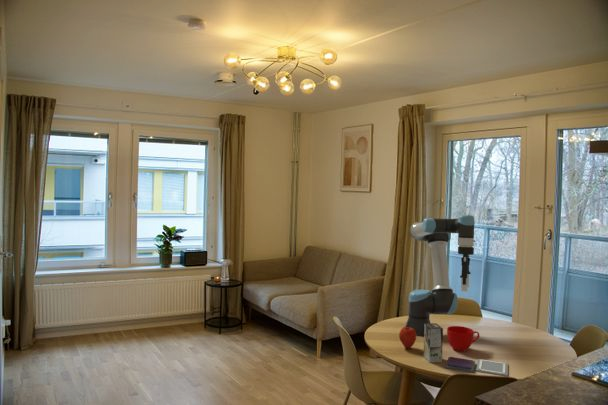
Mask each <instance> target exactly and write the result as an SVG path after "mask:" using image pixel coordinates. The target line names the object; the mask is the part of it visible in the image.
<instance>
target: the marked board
mask: <svg viewBox="0 0 608 405" xmlns="http://www.w3.org/2000/svg"><path fill="white" fill-rule="evenodd" d="M508 366H509V363H506V362H499V361H493V360H489V359H488V360H487V359H482V358H481V359H480V358H477V364H476V369H475V372H479V373H484V374H490V375H497V376H503V377H508V370H509V367H508Z"/></svg>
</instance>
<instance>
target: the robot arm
mask: <svg viewBox="0 0 608 405" xmlns="http://www.w3.org/2000/svg"><path fill="white" fill-rule="evenodd" d="M408 232H409V233H408V234H409V235H410V236H411V238H412V239H414V240H415V241H419V242H427V246H428V247H429V248H430V253H431V265H432V277H433V288H432V289H431V290H428V289H414V290H412V291H411V292H410V293H409V294H408V295H409V296H408V317H407V321H406V323H405V325H404V327H410V328H413V329H414V330H415V332H416V336H424V324H428V323H431V318H430V315H431V314H433V315H437V314H438V315H439V314H440V315H443V314H444V315H451V314H455V312H456V310H457V308H458V296H457V293H455V292H454V290H453V288H452V287H451V286H450V278H449V268H448V267H449V266H448V257H447V256H448V255H447V245H448V244H449V242H450V241H451V239H452V237H451V236H452V234H457V245H458V247H457V254H459V255H462V257H461V258H460V259H461V275H460V276H459V278H461V286H460V288H461V289H460V290H461V292H468V288H470V275H471V271H470V262H471V258H470V256H473V255H474V253H475V248H474V246H475V242H476V239H475V216H474V215H466V214H465V215H461V214H460V215H458V218H436V217H435V218H434V217H428V218H424V219H423V221H416V222H413V223H412V224H411V225H410V226H409V229H408Z"/></svg>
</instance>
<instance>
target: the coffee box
mask: <svg viewBox="0 0 608 405" xmlns="http://www.w3.org/2000/svg"><path fill="white" fill-rule="evenodd" d="M443 338H444V328H443V327H442V326H440V325H439V324H438V323H434V322H433V323H432V322H430V323H428V324H424V335H423V357H424V358H425V359H426V360H427V362H429V363H443V347H444V346H443V345H444V344H443V340H444V339H443Z"/></svg>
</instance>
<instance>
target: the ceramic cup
mask: <svg viewBox="0 0 608 405" xmlns="http://www.w3.org/2000/svg"><path fill="white" fill-rule="evenodd" d="M475 334H477V335H476V337H475V338H474V336H475ZM446 336H447V341H448V343H449V345H450V346H451V348H452V349H453V350H454V351H457V352H466V351H467V350H468V349H469V348H470V347H471V345H472V343H474V342H476V341H478V340H479V338H480V332H479V331H476V330H475V331H474V330H473V329H472V328H470V327H466V326H459V325H451V326H448V327H447V328H446Z"/></svg>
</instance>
